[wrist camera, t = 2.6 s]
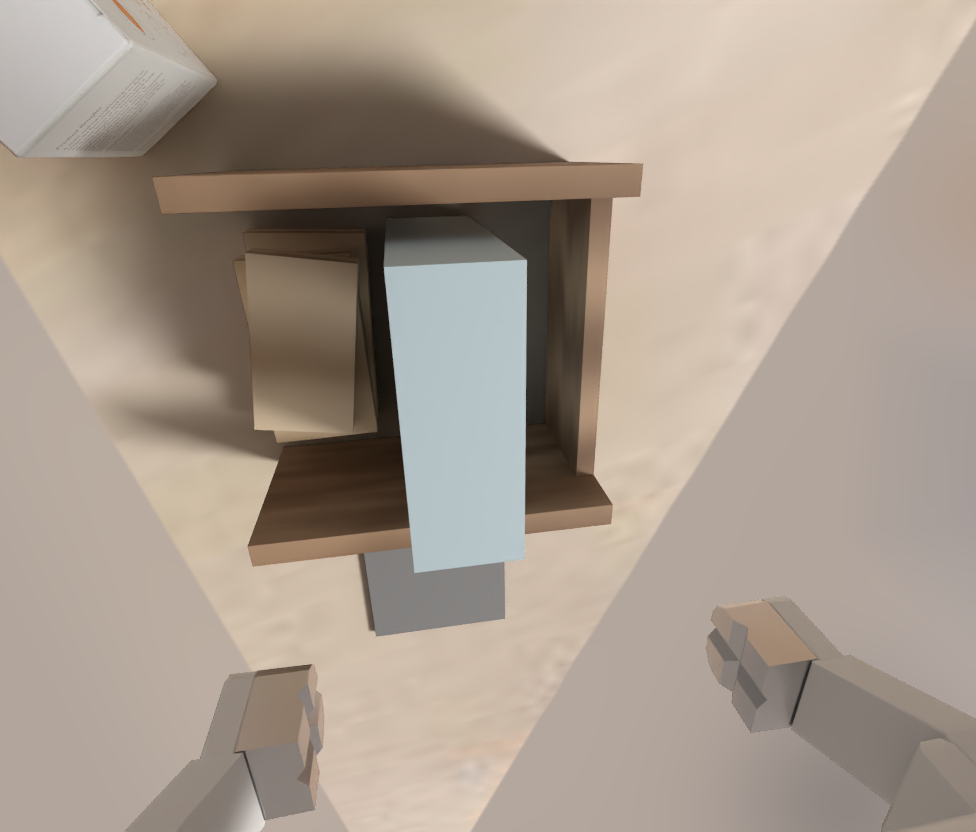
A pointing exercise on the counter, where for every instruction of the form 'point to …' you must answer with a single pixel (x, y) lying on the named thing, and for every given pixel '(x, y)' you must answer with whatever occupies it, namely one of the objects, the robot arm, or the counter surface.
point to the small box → (92, 78)
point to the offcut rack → (379, 462)
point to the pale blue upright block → (459, 388)
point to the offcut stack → (309, 332)
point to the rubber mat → (431, 593)
